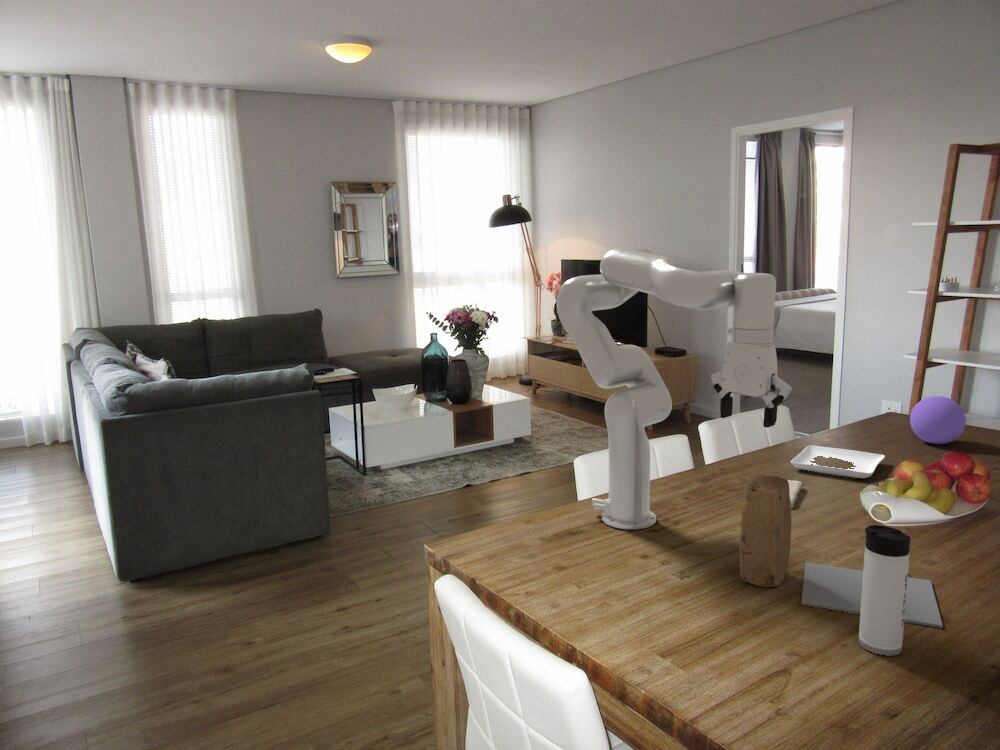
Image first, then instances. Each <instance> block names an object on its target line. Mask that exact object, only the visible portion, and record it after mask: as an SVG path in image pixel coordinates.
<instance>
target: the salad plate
mask: <svg viewBox="0 0 1000 750" xmlns="http://www.w3.org/2000/svg"><path fill="white" fill-rule="evenodd" d="M817 456H823V457H825V458H829V457H832V458H837V459H841V460H844V461H848V462H852V464H853V463H854V464H853V465H854V466H856V467H851V468H854V469H849V468H848V469H842V468H835V467H828V466H820V465H817V464H816V463H812V462H810V461H815V460H814V459H813V458H815V457H817ZM885 458H886V456H885V454H879V453H873V452H868V451H867V452H866V451H859V450H852V449H847V448H837V447H836V448H835V447H828V446H820V445H810V444H809V445H807V446H806V447H805V448H804V449H802V450H801V452H800V453H798V454H797V455H796V456H795V457H794V458H792V459H791V460H790V463H791V465H792V466H794V467H795V468H797V469H799V470H802V469H803V470H802V471H805V470H808V471H807V472H809V471H815V472H822V473H829V474H836V475H842V476H849V477H855V478H861V479H866V478H869V477H871V476H873V474H874V472H875V471H876V468H877V467H878V465H880V463H881V462H883V461H884V460H885ZM811 464H813V465H811ZM855 478H854V479H855Z"/></svg>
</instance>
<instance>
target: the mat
mask: <svg viewBox="0 0 1000 750" xmlns="http://www.w3.org/2000/svg"><path fill="white" fill-rule="evenodd" d="M802 582H803V583H802V584H803V585H802V593H801V604H802V605H801V606H805V605H809V606H808V607H811V606H815V607H814V608H817V607H821V608H820V609H823V608H827V609H826V610H829V609H831V610H830V611H835V610H837V611H836V612H841V611H844V612H843V613H847V612H848V614H854V615H859V616H860V611H861V597H862V582H863V570H861V569H860V570H859V569H852V568H848V567H838V566H834V565H833V566H832V565H828V564H818V563H814V562H812V563H811V562H804V573H803V581H802ZM941 617H942V616H941V615H940V611H939V605H938V603H937V599H936V596H935V592H934V588H933V584H932V580H930V579H922V578H916V577H909V576H908V581H907V594H906V606H905V618H904V623H908V624H915V625H918V626H919V625H921V626H925V627H927V626H928V627H933V628H940V629H943V628H944V625H943V622H942V618H941Z"/></svg>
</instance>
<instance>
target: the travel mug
mask: <svg viewBox="0 0 1000 750" xmlns="http://www.w3.org/2000/svg"><path fill="white" fill-rule="evenodd" d="M864 529H865V530H864V533H865V544H864V555H863V570H862V571H863V582H862V597H861V611H860V615H859V628H858V629H859V630H858V644H859V645H860V647H861V648H862V649H864V650H865V649H866V651H867V650H868V652H869V651H870V653H871V652H872V654H874V653H875V654H874V655H877V654H879V655H878V656H882V655H885V656H884V657H892V656H893V655H894V656H897V655H899V654H901V652H902V650H903V641H904V630H905V629H904V628H905V627H904V626H905V622H904V618H905V606H906V594H907V581H908V577H909V566H910V554H911V552H910V550H911V549H910V548H911V547H910V546H911V540H912V539H911V537H910V535H907V534H906V533H904V532H903V531H901V530H900V529H898V528H894V527H890V526H885V525H879V524H871V525H868V526H866V528H864Z"/></svg>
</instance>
